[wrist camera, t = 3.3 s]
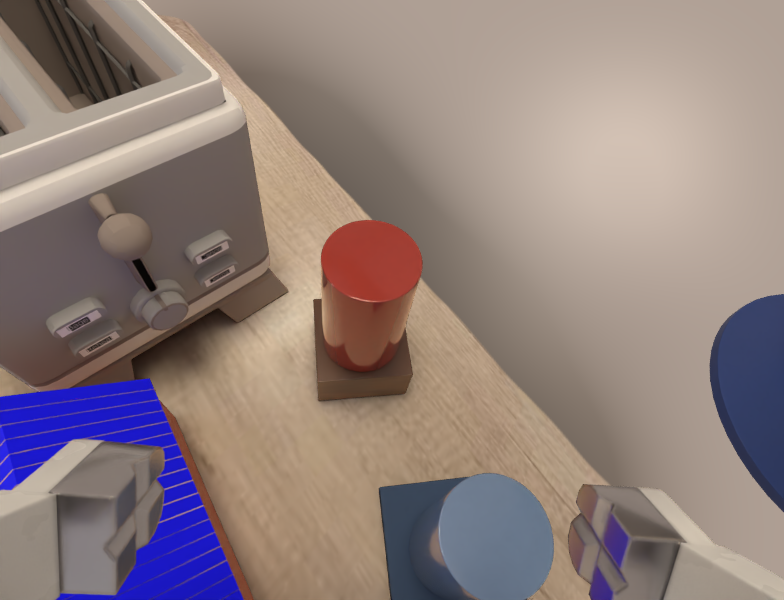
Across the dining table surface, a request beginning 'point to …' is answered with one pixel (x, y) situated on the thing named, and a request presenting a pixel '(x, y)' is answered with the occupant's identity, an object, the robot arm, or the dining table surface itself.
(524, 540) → the blue canister
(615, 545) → the robot arm
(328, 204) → the dining table surface
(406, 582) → the blue mat
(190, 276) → the toaster
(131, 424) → the house
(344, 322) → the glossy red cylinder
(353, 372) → the riser
